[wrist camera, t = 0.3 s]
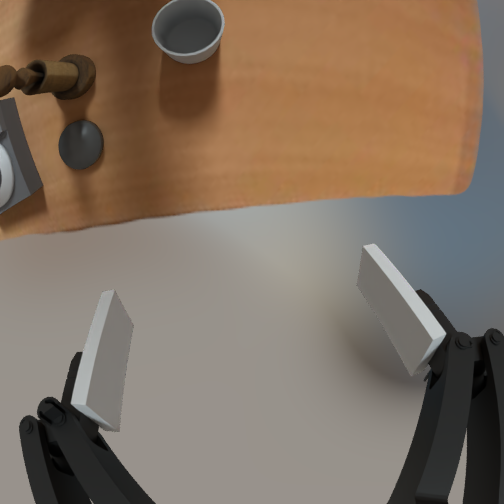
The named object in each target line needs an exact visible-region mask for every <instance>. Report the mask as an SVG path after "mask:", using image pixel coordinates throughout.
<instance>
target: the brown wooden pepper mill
mask: <svg viewBox="0 0 504 504" xmlns="http://www.w3.org/2000/svg"><path fill="white" fill-rule="evenodd" d="M94 78H95V66H94V63H93V61H92V60H91V59H90V58H88V57H86V56H82V55H76V54H74V55H68V56H66V57H64V58H62V59H61V60H60V61H59V62H56V61H46V60H35V61H32V62H31V63H30V64H28V65H27V67H26V68H21V69H19V70H18V71H16V70H15V69H14V68H13V67H12V66H10V65H4V66H1V67H0V97H3V96H5V95H7V94H8V93H9V92H10V91H11V90H12V89H13V88H14V87H15V88H16V89H18V90H20V89H21V90H22V92H23V93H24V94H26V95H35V94H40V93H48V92H51V93H52V94H53V95H54V96H55V97H56V98H58V99H62V100H67V99H74V98H77V97H80V96H81V95H83V94H84V93H85V92H86V91H87V90H88V89H89V88H90V87H91V85H92V83H93V81H94Z"/></svg>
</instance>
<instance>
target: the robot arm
mask: <svg viewBox="0 0 504 504" xmlns="http://www.w3.org/2000/svg"><path fill="white" fill-rule="evenodd" d="M357 286H358V288H359V289H360V291H361V293H362V294H363V296H364V297H365V299H366V300H367V302H368V304H369V305H370V307H371V308H372V310H373V312H374V313H375V315H376V317H377V318H378V320H379V321H380V323H381V325H382V326H383V328H384V330H385V332H386V333H387V335H388V336H389V338H390V340H391V342H392V343H393V345H394V347H395V349H396V350H397V352H398V354H399V356H400V357H401V359H402V361H403V363H404V364H405V366H406V368H407V370H408V372H409V374H410V376H413V375H415V374H418V373H420V372H422V371H424V370H425V368H426V367H427V365H428V364H429V365H430V367H431V370H430V371H429V372H428V374H427V375H426V377H425V379H424V381H426V380H427V379H428V382H427V387H426V392H425V396H424V401H423V405H422V409H421V413H420V416H419V420H418V424H417V427H416V430H415V434H414V437H413V441H412V444H411V447H410V449H409V452H408V455H407V458H406V461H405V464H404V466H403V469H402V471H401V474H400V476H399V479H398V481H397V483H396V486H395V488H394V490H393V493H392V495H391V497H390V499H389V501H388V503H387V504H448V500H447V499H448V496H449V493H450V490H451V487H452V484H453V481H454V478H455V474H456V471H457V467H458V464H459V460H460V456H461V451H462V448H463V443H464V438H465V434H466V428H467V463H466V464H467V465H466V478H465V489H464V497H463V504H504V336H503V334H502V333H501V332H500V331H499V330H497V329H493V328H491V329H488V330H487V331H486V333H485V334H484V336H482V337H473V338H471V337H470V336H469V335H468V334H466V333H463V332H457V331H456V330H455V328H454V327H453V326H452V324H451V323H450V321H449V320H448V319H447V317H446V316H445V315H444V313H443V312H442V311H441V310H440V309H439V307H438V306H437V304H435V302H434V301H433V299H432V298H431V297H430V296H429V295H428V294H427V293H425V292H424V291H422V290H421V289H420V290H417V291H414V290H413V288H412V287H411V286H410V285H409V283H408V282H407V281H406V280H405V279H404V277H403V276H402V275H401V274H400V272H399V271H398V270H397V269H396V268H395V266H394V265H393V264H392V263H391V262H390V260H389V259H388V258H387V257H386V256H385V255H384V253H383V252H382V251H381V250H380V249H379V248H378V247H377V246H376V244H371V245H365V246H363V248H362V256H361V263H360V269H359V275H358V281H357ZM133 326H134V325H133V323H132V322H131V320H130V318H129V316H128V314H127V312H126V310H125V309H124V307H123V305H122V303H121V301H120V299H119V297H118V295H117V293H116V291H115V290H109V291H103V292H102V295H101V297H100V300H99V303H98V306H97V309H96V312H95V315H94V318H93V321H92V324H91V327H90V330H89V333H88V337H87V340H86V344H85V347H84V350H83V352H77V353H76V354H75V356H74V358H73V359H72V361H71V364H70V368H69V372H68V375H67V379H66V384H65V387H64V392H63V396H62V400H61V403H60V402H59V401H58V400H57V399H55V398H53V397H47V398H45V399H43V400H42V401H41V402H40V404H39V406H38V410H37V415H38V418H40V420H37V419H36V418H35V417H33V416H30V415H28V416H25V417H24V418H23V419H22V420H21V422H20V426H19V432H20V439H21V446H22V451H23V457H24V461H25V466H26V471H27V474H28V479H29V482H30V486H31V490H32V493H33V496H34V500H35V503H36V504H92V503H91V501H92V502H93V503H94V504H156V503H155V502H154V501H152V499H151V498H150V497H149V496H148V495H147V494H146V493H145V491H143V489H142V488H141V487H140V486H139V485H138V484H137V482H136V481H135V480H134V479H133V477H132V476H131V475H130V474H129V472H128V471H127V470H126V469H125V467H124V466H123V465H122V464H121V462H120V461H119V460H118V459H117V457H116V455H115V454H114V453H113V451H112V450H111V448H110V447H109V446H108V444H107V443H106V441H105V440H104V438H103V437H102V435H101V434H100V433H99V432H98V429H99V426H100V427H101V428H102V429H103V430H105V431H115V432H116V431H117V432H119V431H120V419H121V408H122V399H123V390H124V382H125V375H126V367H127V361H128V355H129V349H130V343H131V337H132V332H133ZM90 499H91V501H90Z"/></svg>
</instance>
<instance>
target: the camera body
mask: <svg viewBox="0 0 504 504" xmlns="http://www.w3.org/2000/svg"><path fill="white" fill-rule="evenodd" d="M42 186H43V184H42V181H41V179H40V176H39V174H38V171H37V169H36V166H35V164H34V161H33V158H32V156H31V153H30V150H29V147H28V144H27V141H26V138H25V135H24V132H23V128H22V125H21V122H20V118H19V115H18V111H17V107H16V103H15V99H14V98H9V99H4V100H0V214H1V213H2V212H4V211H6V210H7V209H9V208H10V207H12V206H13V205H15V204H17V203H18V202H20V201H22V200H23V199H25V198H27V197H28V196H30V195H32V194H33V193H34V192H35V191H37V190H38V189H39V188H40V187H42Z"/></svg>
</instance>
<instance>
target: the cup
mask: <svg viewBox="0 0 504 504" xmlns="http://www.w3.org/2000/svg"><path fill="white" fill-rule="evenodd" d="M224 25H225V23H224V16H223V13H222V11H221V9H220V8H219V7H218V6H217V5H216V4H215V3H214V2H212V1H211V0H172V1H171V2H169V3H168V4H166V5H164V6H163V7H162V8H161V9H160V10H159V11H158V13H157V14H156V16H155V18H154V20H153V24H152V36H153V39H154V41H155V43H156V44H157V45H158V46H159V47H160V49H162V50H163V51H164V52H165V53H166V54H167V55H168V56H170V57H171V58H172V59H174V60H175V61H178V62H181V63H186V64H193V63H199V62H201V61H204V60H206V59H207V58H209V57H210V56H211V55H212V54H213V53H214V52H215V51H216V50H217V48H218V46H219V44H220V40H221V37H222V33H223V29H224Z"/></svg>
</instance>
